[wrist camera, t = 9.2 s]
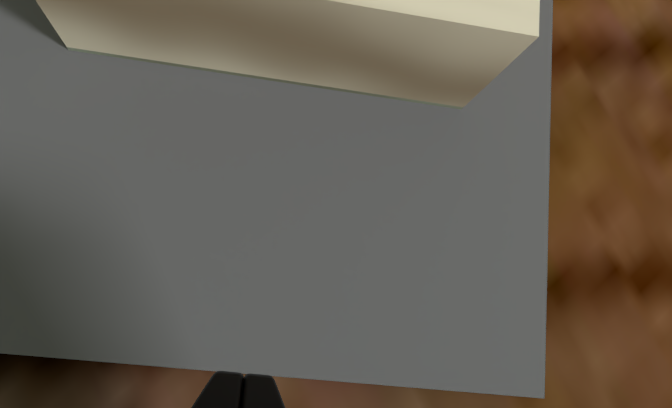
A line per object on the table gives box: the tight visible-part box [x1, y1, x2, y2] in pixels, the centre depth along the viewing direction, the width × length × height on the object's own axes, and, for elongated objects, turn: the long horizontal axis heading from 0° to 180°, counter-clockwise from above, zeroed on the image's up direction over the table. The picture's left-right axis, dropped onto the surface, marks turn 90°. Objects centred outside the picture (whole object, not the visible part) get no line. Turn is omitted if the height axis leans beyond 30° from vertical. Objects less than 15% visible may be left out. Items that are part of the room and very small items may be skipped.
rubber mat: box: [0, 0, 553, 398], centre depth 18 cm, size 22×18×1 cm
